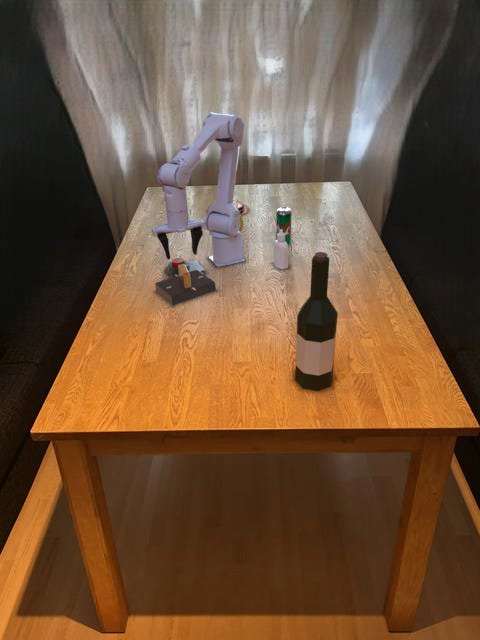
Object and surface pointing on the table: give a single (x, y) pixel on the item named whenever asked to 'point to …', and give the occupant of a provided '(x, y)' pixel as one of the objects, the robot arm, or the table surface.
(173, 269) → the button box
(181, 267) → the gold rectangular bar
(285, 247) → the eye dropper bottle
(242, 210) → the sushi roll
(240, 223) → the lemon
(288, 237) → the soda can
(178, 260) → the button
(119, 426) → the table surface
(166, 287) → the block
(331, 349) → the wine bottle
